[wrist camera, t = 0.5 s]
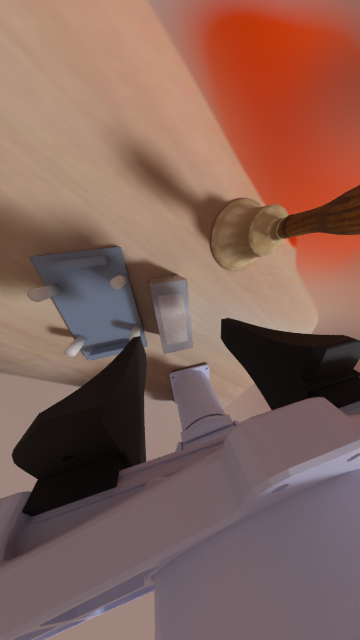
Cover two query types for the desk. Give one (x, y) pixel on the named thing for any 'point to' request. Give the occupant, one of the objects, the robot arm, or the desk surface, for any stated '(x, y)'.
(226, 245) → the hand bell
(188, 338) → the block
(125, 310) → the grey peg stand
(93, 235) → the desk surface
